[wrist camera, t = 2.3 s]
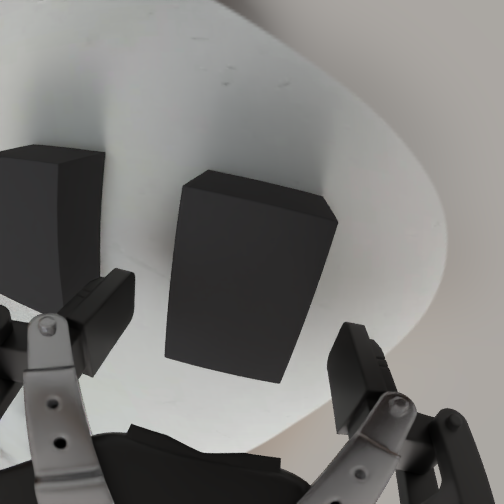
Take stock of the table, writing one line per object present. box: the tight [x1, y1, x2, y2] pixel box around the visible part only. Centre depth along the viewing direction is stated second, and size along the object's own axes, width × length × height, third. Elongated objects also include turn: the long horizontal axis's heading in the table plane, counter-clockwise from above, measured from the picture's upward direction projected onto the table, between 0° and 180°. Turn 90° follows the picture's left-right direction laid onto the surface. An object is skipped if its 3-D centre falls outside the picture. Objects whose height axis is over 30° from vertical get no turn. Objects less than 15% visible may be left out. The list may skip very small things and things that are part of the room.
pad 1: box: [0, 144, 105, 314], centre depth 14 cm, size 8×6×4 cm
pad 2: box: [165, 170, 338, 384], centre depth 14 cm, size 8×6×4 cm
